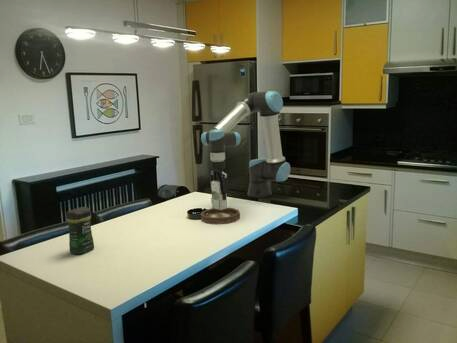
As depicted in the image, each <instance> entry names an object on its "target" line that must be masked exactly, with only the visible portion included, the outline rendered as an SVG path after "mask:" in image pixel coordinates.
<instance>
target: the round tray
mask: <svg viewBox="0 0 457 343" xmlns="http://www.w3.org/2000/svg"><path fill="white" fill-rule="evenodd" d="M206 213H208V214H207V215H206V216H205V214H206ZM240 219H241V213H240V210H239V209H236V208H233V207H227V208H226V209H223V210H217V209H213V207H212V208H208V209H205V210H203V211H201V212H200V220H201V222H203V223H205V224H210V225H224V224H225V225H226V224H231V223H235V222H237V221H239V220H240Z"/></svg>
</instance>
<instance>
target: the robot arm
mask: <svg viewBox="0 0 457 343" xmlns="http://www.w3.org/2000/svg"><path fill="white" fill-rule="evenodd" d="M283 106H284V101H283V98H282V96H281V94H280V93H279V92H277V91H275V90H274V91H272V90H269V91H268V90H265V91H255V92H251V93H249V94H246V96H244V97H243V98H241V99H240V100H238V102H237V103H236V105H235V107H234V108H233V109H232V110H231V111H230V112H229V113H227V115H226V116H225V117H224V118H223V119H221V121H219V122H218V123H217V124H216V125H215V126H214V127H213V128H212V129H211V130H210V131H204V132H203V133H202V134H201V135H200V136H201V137H200V141H201V143H202V144H203V145H204V146H208V147H209V157H210V158H209V159H210V169H212V170H209V189H210V191H212V190H211V182H212V181H216V180H218V181H219V182H220V189H221V193H220V194H221V207H223V206H226V193H227V194H228V193H230V191H229V181H228V180H229V179H228V175H229V174H228V173H226V172H225V171H224V170H225V168H226V161H225V160H226V151H225V150H226V149H225V148H231V147H236V146H239V145H240V144H241V140H242V139H241V138H242V137H241V134H240V133H239V132H237V131H231V130H232V129H234V128H235V127H236V126H237V125H238V123H240V122H241V121H242V120H243V119H244V118H246V117H248V116H249V115H251V114H253V113H259V117H260V118H262V122H263V129H264V136H265V144H266V145H265V146H266V152H267V157H264V158H256V159H251V160H250V161H249V162H248V164H249V166H248V170H249V185H248V189H247V190H248V191H247V196H248V197H250V198H259V199H261V198H267V197H270V196H272V189H271V187H270V183H269V181H274V182H284V181H285V182H286V181H287V179H288V178H289V177H290V174H291V165H290V163H289V162H287V161H286V157H285V156H283V150H282V144H281V143H282V141H281V135H280V134H281V133H280V127H279V119H278V118H279V117H278V116H280V114H281V113H280V112H281V111H282V109H283Z"/></svg>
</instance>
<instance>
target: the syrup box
mask: <svg viewBox="0 0 457 343" xmlns="http://www.w3.org/2000/svg"><path fill="white" fill-rule="evenodd" d="M210 191H211V198H212V202H211V205H212V208H213V209H217V210H223V209H226V208H228V196H227V194H228V193H226V206H223V207H221V194H220V193H221V189H220V182H219V181H218V180H216V181H212V182H211V190H210Z"/></svg>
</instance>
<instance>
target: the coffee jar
mask: <svg viewBox="0 0 457 343" xmlns="http://www.w3.org/2000/svg"><path fill="white" fill-rule="evenodd" d="M91 218H92V214H91V209H90V207H88V206H86V207H85V206H81V207H77V208H74V209H71V210H68V211H67V212H66V221H67V224H68V229H69V230H68V232H69V233H68V236H69V237H68V238H69V242H68V243H69V244H68V245H69V252H70V253H71V254H73V255H83V254H86V253H88V252H90V251H92V250H94V248H95V243H94V237H93V233H92V232H93V231H92V226H91Z"/></svg>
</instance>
